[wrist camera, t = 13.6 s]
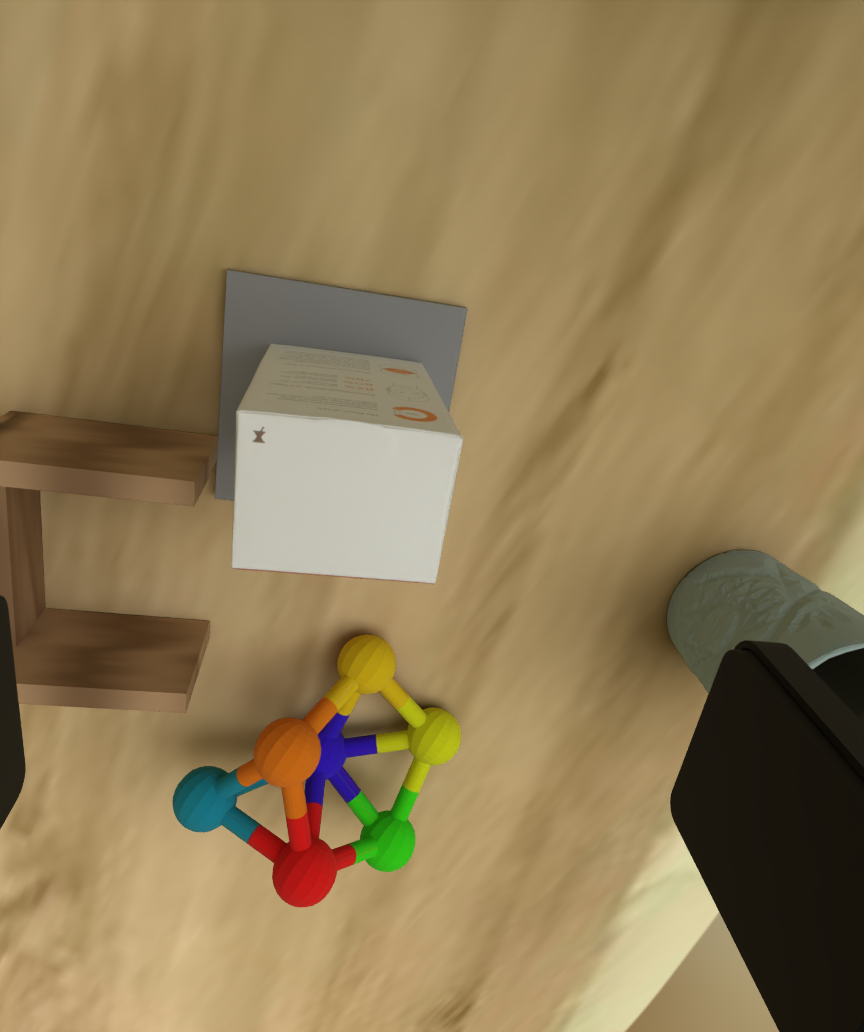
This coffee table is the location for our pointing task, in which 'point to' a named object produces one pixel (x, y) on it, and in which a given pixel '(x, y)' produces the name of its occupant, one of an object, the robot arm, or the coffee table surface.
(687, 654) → the blue-grey cup
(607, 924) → the coffee table surface
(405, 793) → the molecular model
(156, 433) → the slot
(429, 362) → the coaster
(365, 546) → the small box
